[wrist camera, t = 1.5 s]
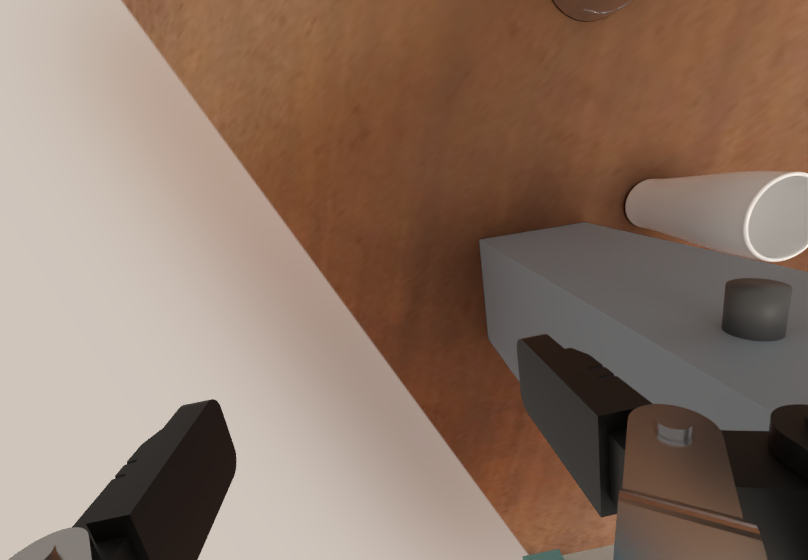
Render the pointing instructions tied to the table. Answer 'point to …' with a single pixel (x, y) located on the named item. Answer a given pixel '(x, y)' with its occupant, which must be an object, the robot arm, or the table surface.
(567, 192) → the table surface
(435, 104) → the table surface
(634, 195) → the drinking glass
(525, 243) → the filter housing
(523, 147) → the table surface
